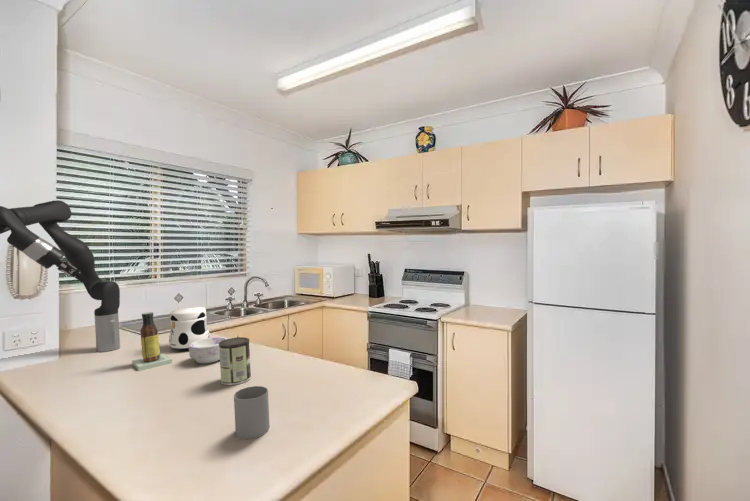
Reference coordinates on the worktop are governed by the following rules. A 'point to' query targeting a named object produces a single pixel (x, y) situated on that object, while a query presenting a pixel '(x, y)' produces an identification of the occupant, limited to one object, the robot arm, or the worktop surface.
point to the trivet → (142, 365)
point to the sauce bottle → (149, 338)
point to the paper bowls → (206, 350)
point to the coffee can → (235, 361)
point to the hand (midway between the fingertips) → (86, 281)
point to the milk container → (187, 327)
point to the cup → (251, 412)
